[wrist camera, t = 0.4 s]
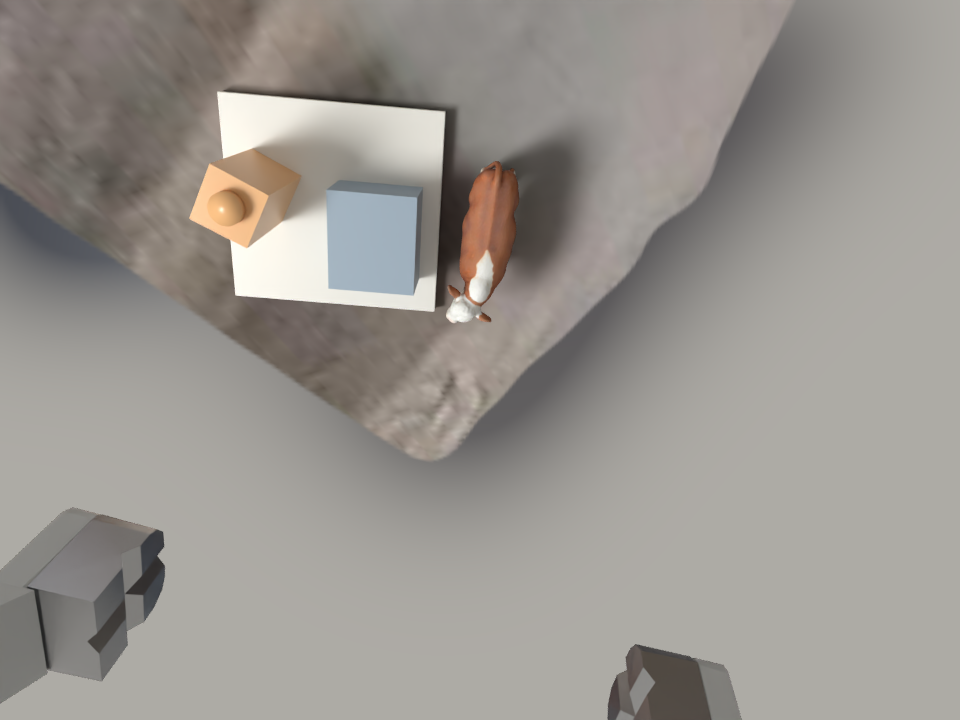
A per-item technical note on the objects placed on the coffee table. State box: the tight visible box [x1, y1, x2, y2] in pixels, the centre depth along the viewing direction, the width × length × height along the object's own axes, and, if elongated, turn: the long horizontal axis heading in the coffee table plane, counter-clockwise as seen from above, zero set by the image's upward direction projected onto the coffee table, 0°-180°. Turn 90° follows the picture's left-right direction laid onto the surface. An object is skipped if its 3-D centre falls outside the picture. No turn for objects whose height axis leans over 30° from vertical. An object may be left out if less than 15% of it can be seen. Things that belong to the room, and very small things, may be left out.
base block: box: [326, 180, 423, 296], centre depth 52 cm, size 8×7×4 cm
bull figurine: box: [446, 161, 519, 323], centre depth 51 cm, size 4×13×8 cm, turn 165°
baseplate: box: [217, 91, 446, 312], centre depth 54 cm, size 17×18×1 cm
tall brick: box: [189, 149, 302, 248], centre depth 48 cm, size 4×4×9 cm
